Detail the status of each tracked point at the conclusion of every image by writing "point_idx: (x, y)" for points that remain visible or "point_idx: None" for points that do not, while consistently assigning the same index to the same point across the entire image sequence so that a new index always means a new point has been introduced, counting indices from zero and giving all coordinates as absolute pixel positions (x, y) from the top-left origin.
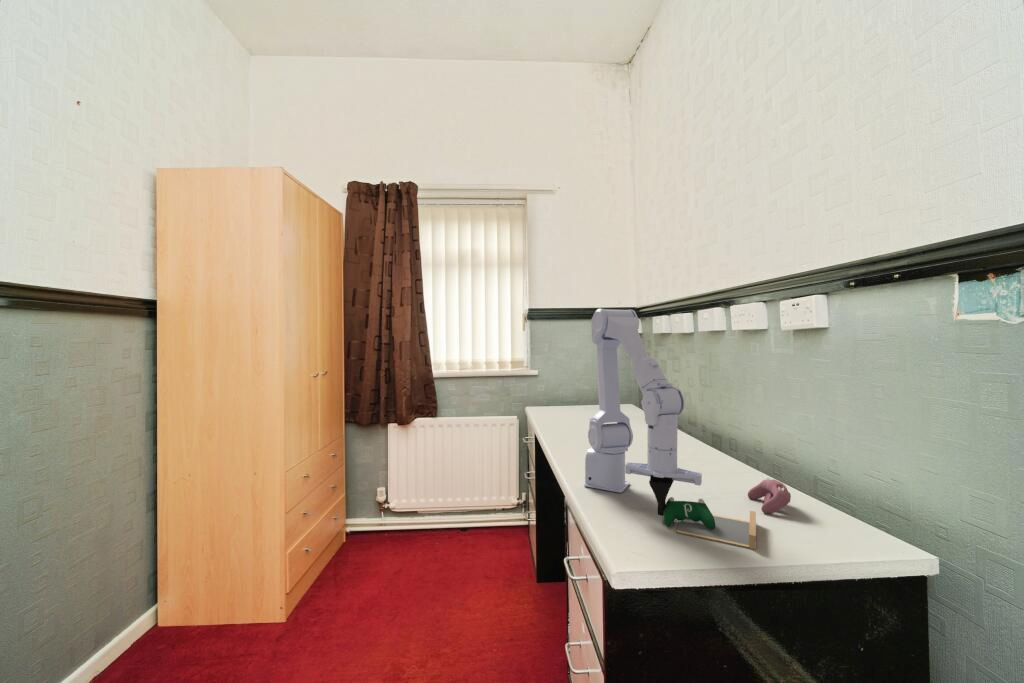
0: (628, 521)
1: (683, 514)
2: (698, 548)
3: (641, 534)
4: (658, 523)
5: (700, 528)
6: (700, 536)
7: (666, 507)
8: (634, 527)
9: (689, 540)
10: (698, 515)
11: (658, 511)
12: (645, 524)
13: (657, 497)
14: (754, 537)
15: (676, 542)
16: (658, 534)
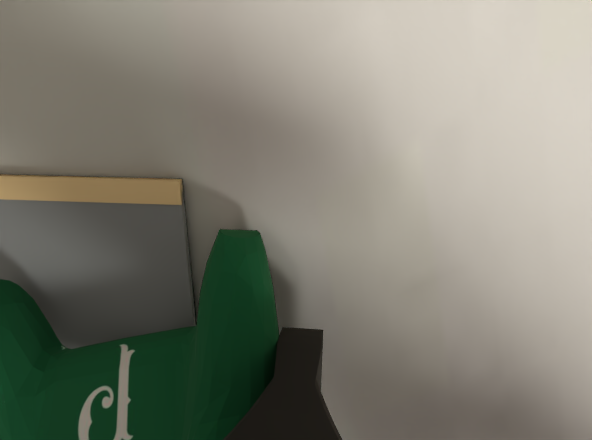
0: (513, 206)
1: (143, 352)
2: (2, 6)
3: (392, 20)
4: (311, 267)
5: (75, 292)
6: (37, 178)
7: (252, 376)
8: (459, 122)
9: (84, 104)
10: (54, 370)
11: (315, 341)
12: (388, 213)
13: (315, 425)
14: None
15: (142, 21)
16: (278, 91)
